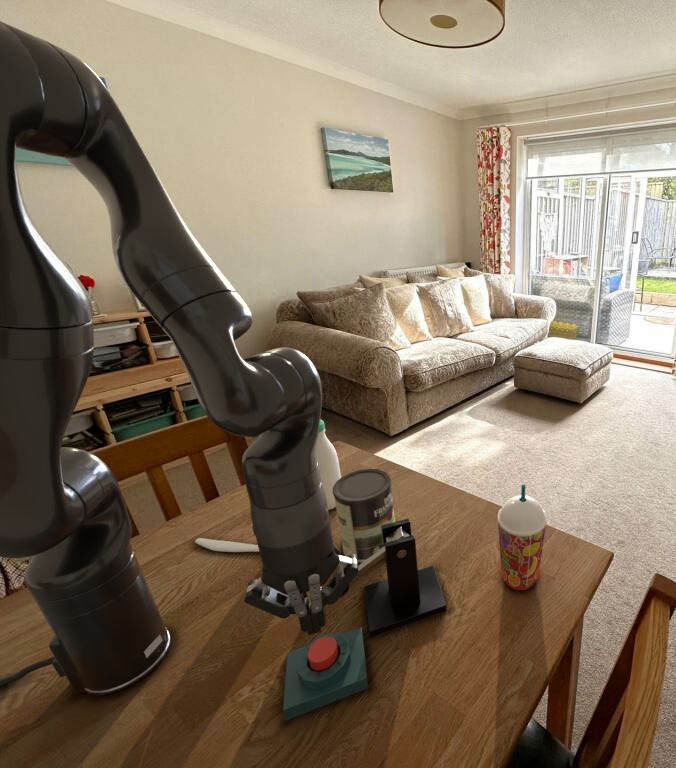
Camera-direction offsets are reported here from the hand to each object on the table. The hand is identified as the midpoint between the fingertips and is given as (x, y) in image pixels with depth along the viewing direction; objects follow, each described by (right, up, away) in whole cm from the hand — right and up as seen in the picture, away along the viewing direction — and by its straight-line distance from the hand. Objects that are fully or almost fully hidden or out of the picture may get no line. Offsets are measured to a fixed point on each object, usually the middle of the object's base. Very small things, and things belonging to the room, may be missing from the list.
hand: (314, 627), depth 53 cm
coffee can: (-2, 0, +27) cm, 27 cm away
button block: (0, -9, +4) cm, 10 cm away
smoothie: (+27, -3, +20) cm, 34 cm away
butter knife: (-23, 0, +25) cm, 34 cm away
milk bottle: (-16, +5, +39) cm, 42 cm away
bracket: (+8, -5, +15) cm, 18 cm away
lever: (+4, +3, +10) cm, 12 cm away
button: (0, -6, +3) cm, 6 cm away
